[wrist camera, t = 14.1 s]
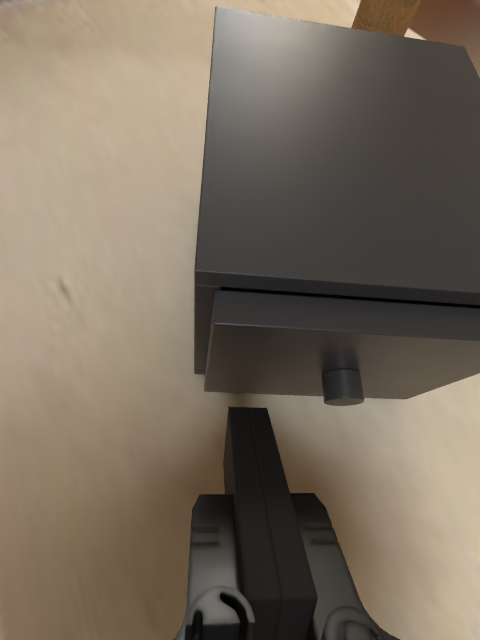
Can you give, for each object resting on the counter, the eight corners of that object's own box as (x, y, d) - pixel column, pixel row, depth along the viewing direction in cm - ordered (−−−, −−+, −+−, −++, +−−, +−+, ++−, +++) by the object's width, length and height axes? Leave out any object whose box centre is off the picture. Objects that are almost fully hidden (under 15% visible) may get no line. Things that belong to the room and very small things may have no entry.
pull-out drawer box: (411, 421, 18) (575, 381, 10) (202, 415, 17) (210, 363, 9) (369, 214, 25) (453, 90, 17) (214, 199, 23) (225, 57, 15)
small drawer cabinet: (403, 382, 20) (590, 300, 11) (194, 373, 19) (194, 270, 9) (366, 201, 26) (464, 46, 17) (207, 184, 25) (215, 5, 16)
